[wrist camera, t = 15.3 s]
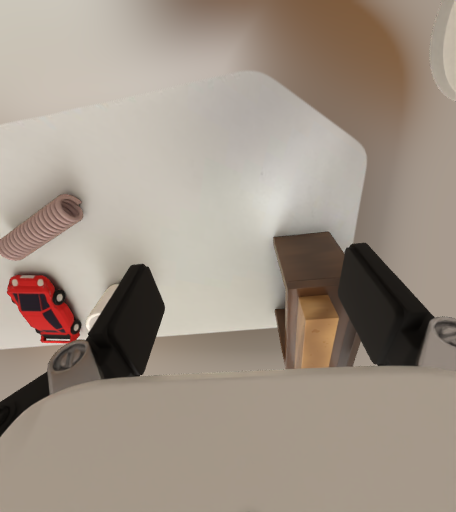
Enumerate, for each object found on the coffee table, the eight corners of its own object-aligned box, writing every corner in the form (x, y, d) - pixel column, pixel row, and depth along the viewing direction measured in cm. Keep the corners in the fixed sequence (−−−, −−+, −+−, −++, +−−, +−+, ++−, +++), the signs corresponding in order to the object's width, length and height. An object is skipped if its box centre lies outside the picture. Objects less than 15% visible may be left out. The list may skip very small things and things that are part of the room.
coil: (51, 197, 34) (-14, 246, 40) (75, 223, 36) (9, 266, 41) (72, 189, 38) (10, 235, 44) (92, 213, 40) (31, 254, 45)
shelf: (329, 231, 41) (375, 296, 28) (318, 310, 53) (347, 383, 39) (273, 237, 42) (291, 302, 28) (275, 313, 54) (288, 385, 40)
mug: (163, 314, 55) (151, 348, 48) (124, 319, 56) (107, 352, 49) (142, 276, 48) (125, 309, 41) (98, 283, 50) (74, 316, 42)
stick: (328, 294, 31) (339, 317, 28) (316, 366, 41) (323, 389, 38) (298, 296, 31) (305, 320, 28) (294, 367, 41) (299, 390, 38)
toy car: (52, 270, 48) (34, 286, 44) (90, 330, 59) (79, 348, 55) (5, 272, 49) (-17, 288, 45) (51, 331, 60) (38, 348, 56)
